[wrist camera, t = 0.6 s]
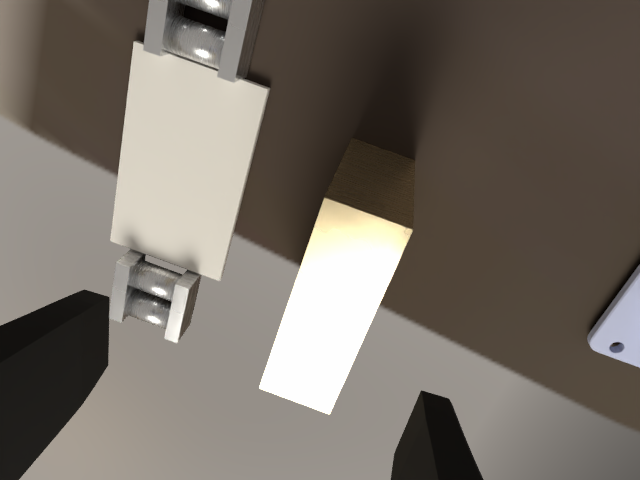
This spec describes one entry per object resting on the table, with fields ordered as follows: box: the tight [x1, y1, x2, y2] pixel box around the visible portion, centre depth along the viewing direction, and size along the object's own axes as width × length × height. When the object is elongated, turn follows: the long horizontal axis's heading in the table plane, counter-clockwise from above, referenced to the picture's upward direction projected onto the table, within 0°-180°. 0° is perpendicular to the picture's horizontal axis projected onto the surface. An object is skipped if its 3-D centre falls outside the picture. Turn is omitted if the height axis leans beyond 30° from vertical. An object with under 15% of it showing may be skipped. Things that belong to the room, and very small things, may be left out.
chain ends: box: [109, 0, 265, 343], centre depth 19 cm, size 3×15×1 cm, turn 163°
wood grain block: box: [259, 138, 415, 414], centre depth 17 cm, size 2×7×6 cm, turn 163°
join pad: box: [110, 41, 270, 281], centre depth 20 cm, size 5×8×1 cm, turn 163°
